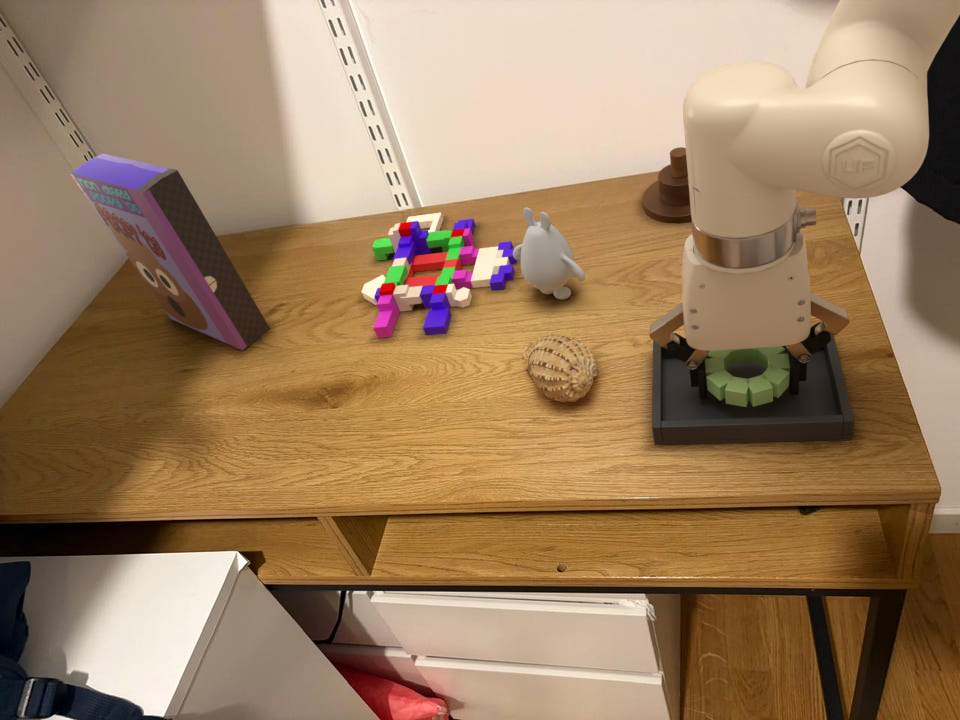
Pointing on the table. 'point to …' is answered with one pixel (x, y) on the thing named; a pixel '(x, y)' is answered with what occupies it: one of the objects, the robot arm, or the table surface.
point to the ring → (752, 388)
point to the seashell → (560, 367)
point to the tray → (750, 405)
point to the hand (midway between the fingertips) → (746, 385)
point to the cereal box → (172, 247)
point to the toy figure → (546, 257)
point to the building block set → (434, 289)
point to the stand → (670, 191)
